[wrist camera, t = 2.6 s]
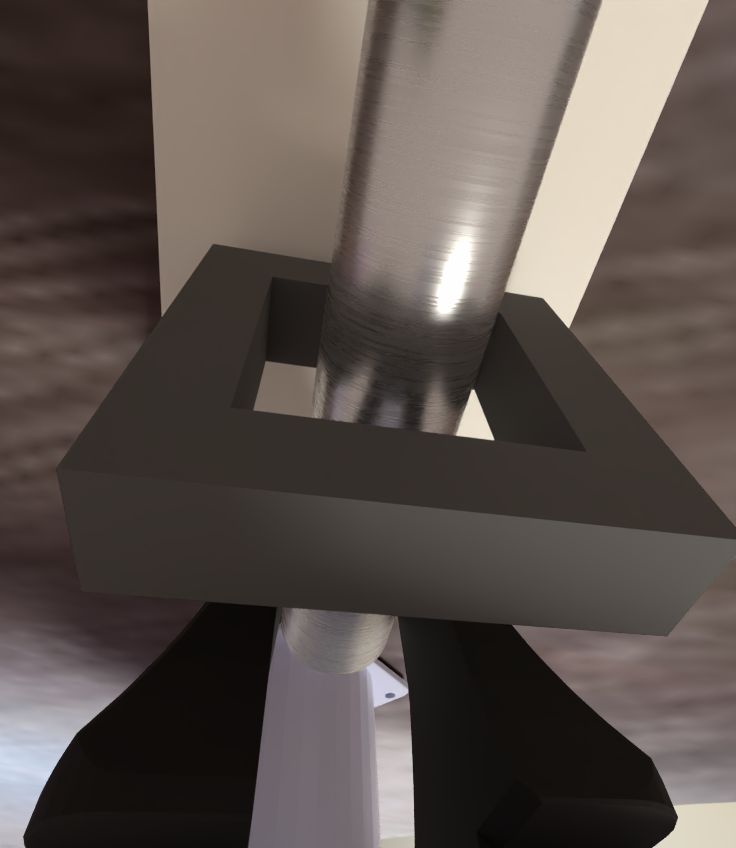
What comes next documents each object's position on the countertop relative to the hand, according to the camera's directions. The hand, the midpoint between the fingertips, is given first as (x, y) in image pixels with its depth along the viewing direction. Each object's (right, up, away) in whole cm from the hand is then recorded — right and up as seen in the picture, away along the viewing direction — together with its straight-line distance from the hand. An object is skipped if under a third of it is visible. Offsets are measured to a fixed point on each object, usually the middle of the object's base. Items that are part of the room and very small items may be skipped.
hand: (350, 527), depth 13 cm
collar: (+1, +5, 0) cm, 6 cm away
